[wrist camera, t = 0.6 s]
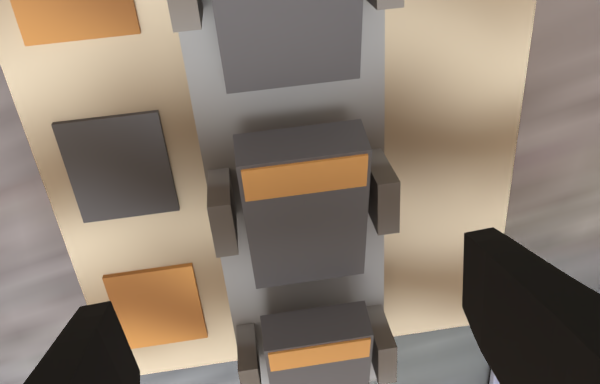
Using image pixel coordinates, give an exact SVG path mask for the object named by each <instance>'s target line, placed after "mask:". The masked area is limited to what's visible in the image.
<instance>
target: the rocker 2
mask: <svg viewBox="0 0 600 384" xmlns="http://www.w3.org/2000/svg"><path fill="white" fill-rule="evenodd" d="M260 320H261V329H262V338H263V347H264V355H265V360H266V366H267V372H268V378H269V384H369V380H370V369H371V359H372V349H373V339H374V334H373V330H372V326H371V322H370V319H369V315H368V311H367V308H366V304H365V300H364V301H358V302H351V303H344V304H337V305H330V306H324V307H317V308H310V309H303V310H296V311H289V312H283V313H276V314H269V315H262V316H260Z"/></svg>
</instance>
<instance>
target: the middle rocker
mask: <svg viewBox="0 0 600 384" xmlns="http://www.w3.org/2000/svg"><path fill="white" fill-rule="evenodd" d="M233 143H234V153H235V164H236V172H237V178H238V184H239V190H240V196H241V202H242V208H243V214H244V220H245V226H246V232H247V238H248V244H249V250H250V256H251V262H252V268H253V274H254V280H255V286H256V289H260V288H267V287H274V286H281V285H288V284H295V283H302V282H309V281H316V280H323V279H330V278H337V277H344V276H351V275H358V274H364V267H365V251H366V236H367V221H368V205H369V190H370V174H371V159H372V148H371V145H370V143H369V140H368V137H367V134H366V132H365V129H364V126H363V123H362V121H361V119H356V120H348V121H339V122H331V123H323V124H315V125H307V126H299V127H291V128H282V129H274V130H266V131H258V132H250V133H242V134H234V135H233Z"/></svg>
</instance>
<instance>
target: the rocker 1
mask: <svg viewBox="0 0 600 384" xmlns="http://www.w3.org/2000/svg"><path fill="white" fill-rule="evenodd" d="M211 1H212V7H213V13H214V19H215V25H216V31H217V38H218V44H219V50H220V56H221V62H222V69H223V75H224V81H225V87H226V93H227V94H232V93H240V92H249V91H257V90H266V89H274V88H283V87H291V86H300V85H308V84H317V83H325V82H334V81H342V80H351V79H359V78H360V68H361V43H362V18H363V0H211Z"/></svg>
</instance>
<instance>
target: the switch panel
mask: <svg viewBox="0 0 600 384" xmlns="http://www.w3.org/2000/svg"><path fill="white" fill-rule="evenodd" d="M535 7H536V0H363V18H362V43H361V68H360V78H359V79H351V80H342V81H334V82H325V83H317V84H308V85H300V86H291V87H283V88H274V89H266V90H257V91H249V92H240V93H232V94H227V93H226V87H225V81H224V75H223V69H222V62H221V56H220V50H219V44H218V38H217V31H216V25H215V19H214V13H213V7H212V1H211V0H0V65H1V67H2V70H3V73H4V76H5V79H6V81H7V84H8V87H9V90H10V92H11V95H12V98H13V101H14V103H15V106H16V109H17V112H18V115H19V117H20V120H21V123H22V126H23V128H24V131H25V134H26V137H27V139H28V142H29V145H30V148H31V151H32V153H33V156H34V159H35V162H36V164H37V167H38V170H39V173H40V175H41V178H42V181H43V184H44V187H45V189H46V192H47V195H48V198H49V200H50V203H51V206H52V209H53V212H54V214H55V217H56V220H57V223H58V225H59V228H60V231H61V234H62V236H63V239H64V242H65V245H66V248H67V250H68V253H69V256H70V259H71V261H72V264H73V267H74V270H75V272H76V275H77V278H78V281H79V284H80V286H81V289H82V292H83V295H84V297H85V300H86V303H87V305H91V304H97V303H102V302H107V301H111V302H112V305H113V307H114V310H115V312H116V314H117V317H118V319H119V322H120V324H121V326H122V329H123V331H124V334H125V336H126V338H127V341H128V343H129V346H130V348H131V350H132V353H133V355H134V357H135V360H136V362H137V365H138V367H139V369H140V375H144V374H151V373H158V372H164V371H171V370H177V369H184V368H191V367H197V366H204V365H210V364H217V363H223V362H230V361H237V360H238V374H239V379H240V384H269V378H268V372H267V366H266V360H265V355H264V347H263V338H262V329H261V320H260V316H262V315H269V314H276V313H283V312H289V311H296V310H303V309H310V308H317V307H324V306H330V305H337V304H344V303H351V302H358V301H364V300H365V304H366V308H367V311H368V315H369V319H370V322H371V326H372V330H373V334H374V339H373V349H372V359H371V369H370V380H369V381H375V380H377V381H378V384H387V383H394V382H397V345H396V343H395V340H394V336H401V335H408V334H414V333H421V332H427V331H434V330H440V329H447V328H454V327H460V326H467V325H469V323H468V320H467V318H466V315H465V313H464V310H463V308H462V291H463V256H464V233H466V232H471V231H476V230H481V229H486V228H492V227H494V228H495V229H497V230H499V231H500V232H502V233H503V234H504V231H505V224H506V217H507V209H508V202H509V195H510V188H511V181H512V173H513V166H514V159H515V152H516V144H517V137H518V130H519V123H520V116H521V108H522V101H523V94H524V87H525V80H526V72H527V65H528V58H529V51H530V43H531V36H532V29H533V22H534V15H535ZM356 119H361V121H362V123H363V126H364V129H365V132H366V134H367V137H368V140H369V143H370V145H371V148H372V159H371V174H370V190H369V205H368V221H367V236H366V251H365V267H364V274H358V275H351V276H344V277H337V278H330V279H323V280H316V281H309V282H302V283H295V284H288V285H281V286H274V287H267V288H260V289H256V286H255V280H254V274H253V268H252V262H251V256H250V250H249V244H248V238H247V232H246V226H245V220H244V214H243V208H242V202H241V196H240V190H239V184H238V178H237V172H236V164H235V153H234V143H233V135H234V134H242V133H250V132H258V131H266V130H274V129H282V128H291V127H299V126H307V125H315V124H323V123H331V122H339V121H348V120H356Z"/></svg>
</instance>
